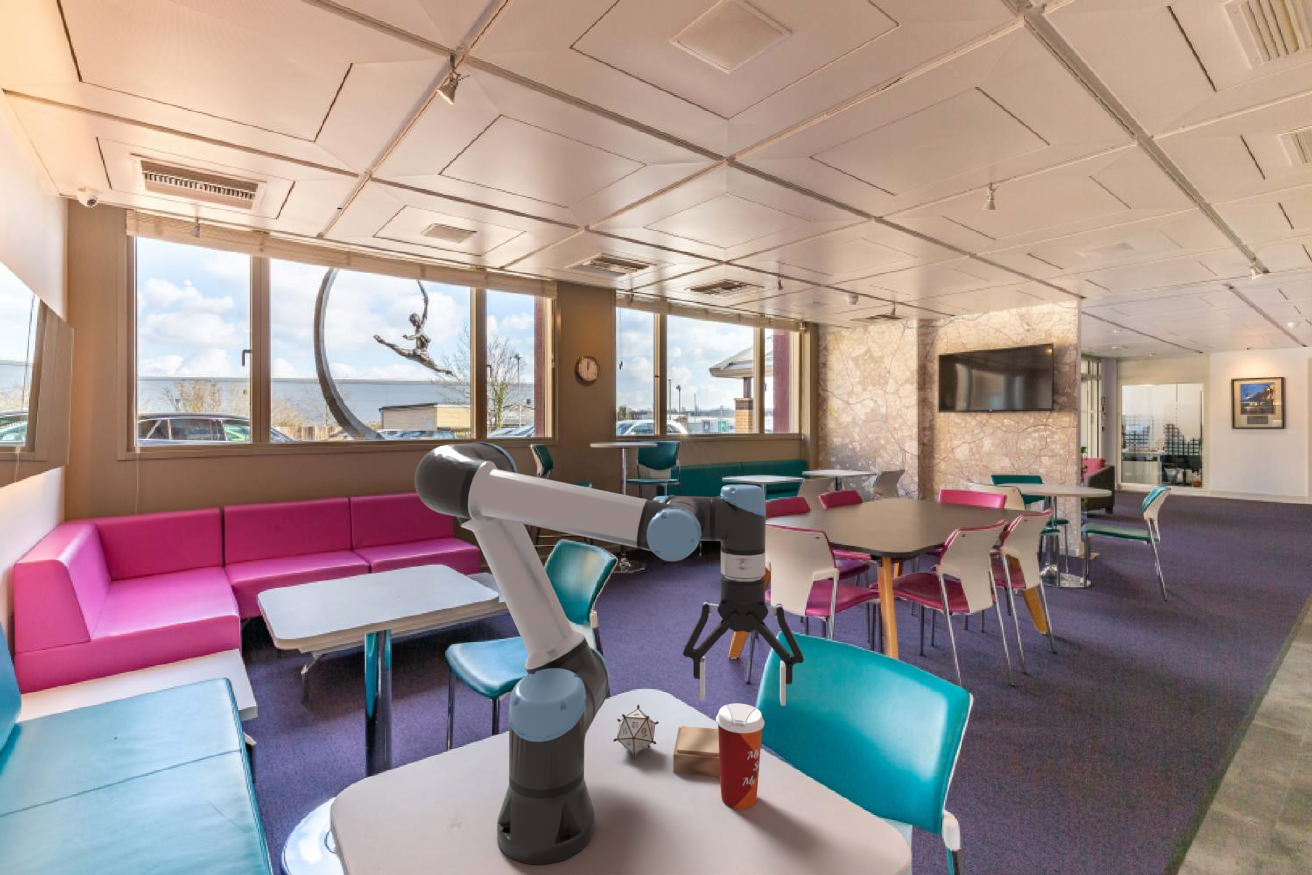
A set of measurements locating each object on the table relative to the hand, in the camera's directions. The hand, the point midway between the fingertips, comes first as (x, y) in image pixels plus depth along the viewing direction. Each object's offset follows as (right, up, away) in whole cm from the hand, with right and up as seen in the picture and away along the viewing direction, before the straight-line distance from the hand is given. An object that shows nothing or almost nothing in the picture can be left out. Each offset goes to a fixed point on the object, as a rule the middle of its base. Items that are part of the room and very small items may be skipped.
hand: (742, 699), depth 103 cm
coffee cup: (0, -17, 0) cm, 17 cm away
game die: (-19, -17, +15) cm, 29 cm away
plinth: (-6, -17, +12) cm, 22 cm away
